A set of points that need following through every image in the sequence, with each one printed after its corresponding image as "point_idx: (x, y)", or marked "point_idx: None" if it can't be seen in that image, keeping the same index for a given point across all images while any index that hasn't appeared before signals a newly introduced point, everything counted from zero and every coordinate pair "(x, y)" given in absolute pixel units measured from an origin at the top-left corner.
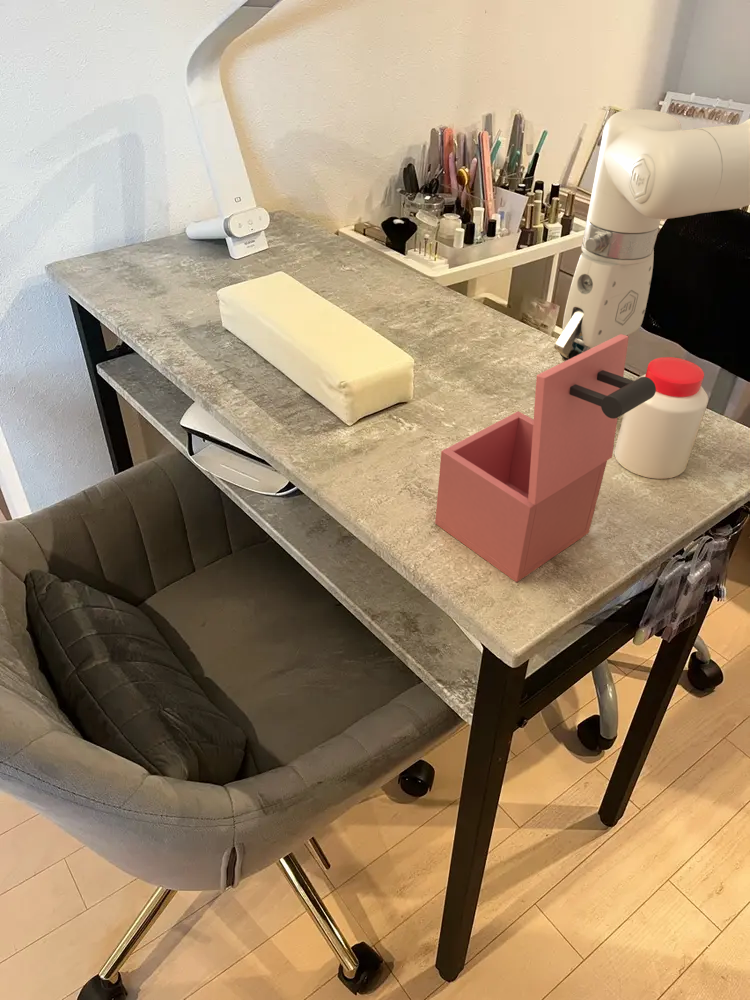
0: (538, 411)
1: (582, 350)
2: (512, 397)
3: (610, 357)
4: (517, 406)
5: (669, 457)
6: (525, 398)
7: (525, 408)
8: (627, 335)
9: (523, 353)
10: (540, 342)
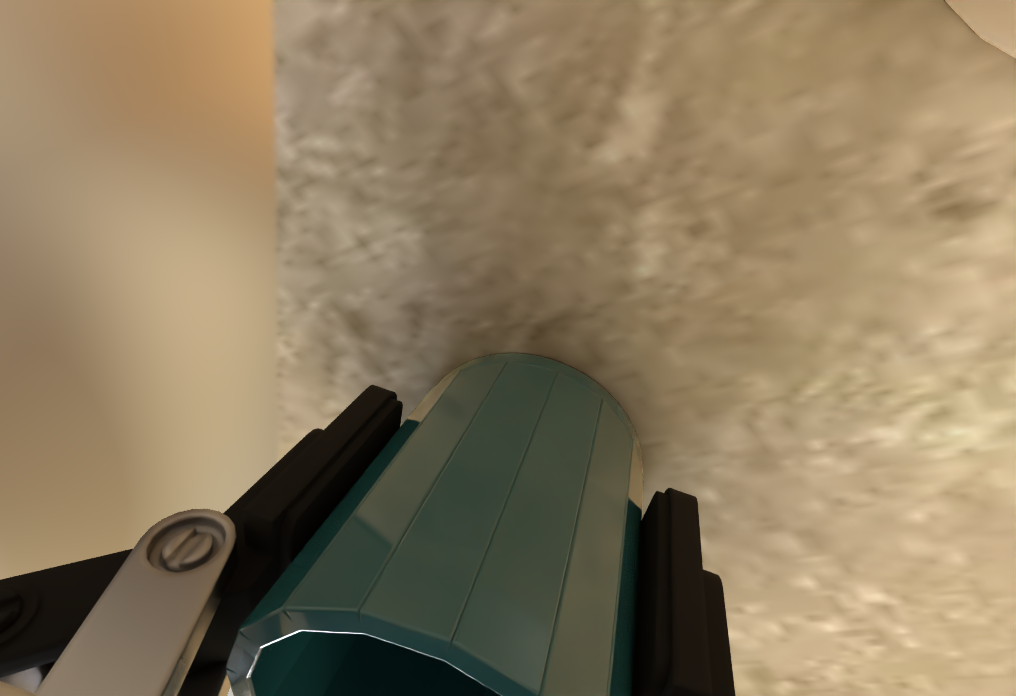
0: None
1: (396, 680)
2: (762, 692)
3: None
4: (839, 673)
5: None
6: (741, 652)
7: (841, 645)
8: (65, 566)
9: None
10: None
